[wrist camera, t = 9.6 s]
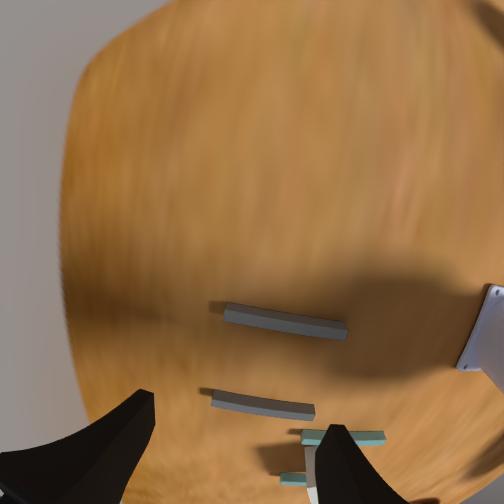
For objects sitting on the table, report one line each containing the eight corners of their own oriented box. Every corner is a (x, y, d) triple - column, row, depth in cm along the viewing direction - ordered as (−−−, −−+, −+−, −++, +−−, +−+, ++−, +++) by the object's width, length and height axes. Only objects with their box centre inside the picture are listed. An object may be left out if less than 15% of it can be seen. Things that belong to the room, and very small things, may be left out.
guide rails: (435, 332, 18) (442, 339, 17) (349, 477, 23) (350, 485, 22) (227, 302, 19) (224, 309, 18) (204, 464, 24) (202, 472, 22)
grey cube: (351, 437, 21) (361, 477, 17) (352, 463, 23) (359, 499, 18) (304, 446, 22) (307, 488, 17) (309, 471, 23) (312, 508, 18)
